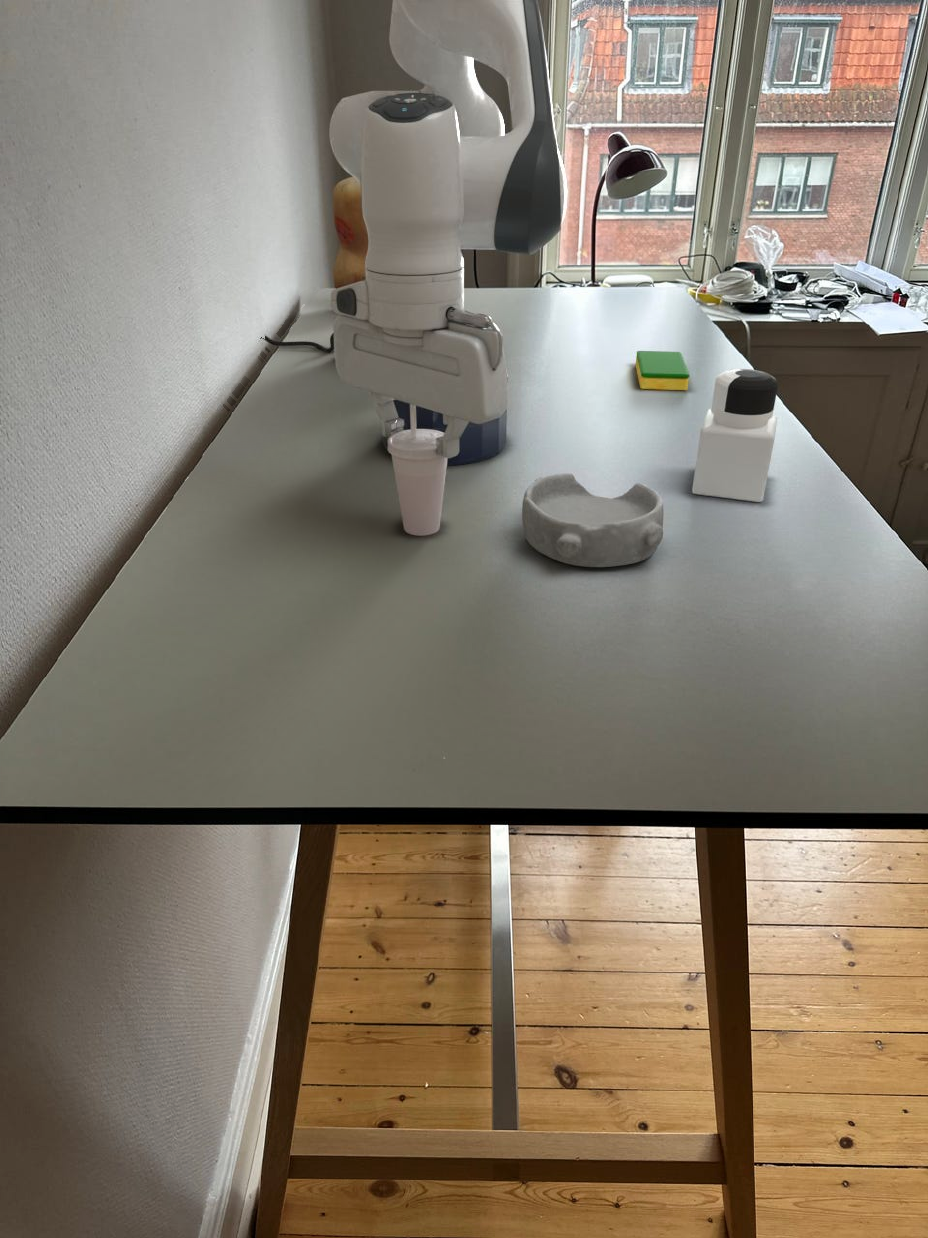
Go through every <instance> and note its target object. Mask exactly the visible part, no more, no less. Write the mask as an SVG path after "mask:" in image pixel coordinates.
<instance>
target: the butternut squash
mask: <svg viewBox="0 0 928 1238" xmlns="http://www.w3.org/2000/svg"><path fill="white" fill-rule="evenodd" d="M332 209H333V221H334V228H335V231H336V234H337V237H338V243H339V246H338V251H337V255H336V258H335V261H334V266H333V274H332V275H333V276H332V277H333V284H334V289H337V288H340V287H344V286H347V285H350V284H354V283H357V282H360V281H362V280H364V279H366V267H365V261H366V256H367V252H368V243H369V240H368V231H367V227H366V224H365V221H364V219H363V215H362V202H361V184H360V183H359V182H358V181H357V180H356V179H355V178H354V177H353V176H349V177H347V178H344V179H342V180H340V181H339V182H338V183H337V184H336V185H335V186H334V189H333V192H332Z"/></svg>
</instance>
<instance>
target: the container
mask: <svg viewBox="0 0 928 1238" xmlns="http://www.w3.org/2000/svg"><path fill="white" fill-rule="evenodd" d="M778 388H779V382H778V380H777V379H776V377H774V376H773V375H771V374H769V373H768V372H765V371H762V370H757V369H749V368H735V369H730V370H729V369H728V370H727V371H723V372H720V373H719V374H718V375H717V377H716V378H715V382H714V388H713V395H712V403H711V408H709V409H707V411H706V415H705V417H704V419H703V423H702V426H701V428H700V433H699V439H698V445H697V452H696V453H697V455H696V460H695V466H694V467H695V468H694V475H693V481H692V489H691V491H692V493H693V495H699V496H707V497H715V498H724V499H730V500H731V499H732V500H739V501H747V502H755V503H761V502H762V501H763V500H764V497H765V491H766V487H767V481H768V476H769V470H770V465H771V459H772V454H773V449H774V444H775V439H776V438H775V437H776V432H777V424H778V423H777V422H778V417H777V415H776V414H774V411H775V404H776V399H777V393H778V390H779V389H778Z"/></svg>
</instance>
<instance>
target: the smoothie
mask: <svg viewBox="0 0 928 1238" xmlns="http://www.w3.org/2000/svg"><path fill="white" fill-rule="evenodd" d="M410 422H411V430H404V431H400V432H397V433H395V434H393V435H391V436H390V437H389V438H388V448H387V449H388V451H387V452H388V453H389V454H390V453H391V454H392V455H391V454H390V455H391V460H392V466H393V471H394V478H395V483H396V490H397V497H398V503H399V507H400V513H401V517H402V518H401V519H402V524H403V530H404V531H405V532H406V533H407V534H409V535H412V536H420V537H422V536H423V537H424V536H430V535H433V534H436V533H437V532H438V531H440V526H441V517H442V509H443V501H444V493H445V491H444V490H445V484H446V476H447V467H448V465H447V458H446V457H443V456H440V455H438V454H437V453H436V448H437V446H436V438H438V437H442V436H443V435H444V433H443V432H440V431H436V430H431V429H416V405H413V404H410Z"/></svg>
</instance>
